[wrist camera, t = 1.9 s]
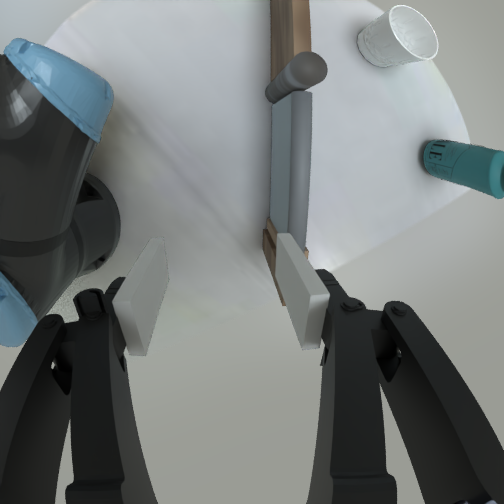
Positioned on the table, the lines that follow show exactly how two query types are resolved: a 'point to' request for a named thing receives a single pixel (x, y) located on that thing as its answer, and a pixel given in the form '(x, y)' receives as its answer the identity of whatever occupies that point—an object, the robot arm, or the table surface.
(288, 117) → the gate panel
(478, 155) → the beverage bottle
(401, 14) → the white cup
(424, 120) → the table surface
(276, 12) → the gate frame
